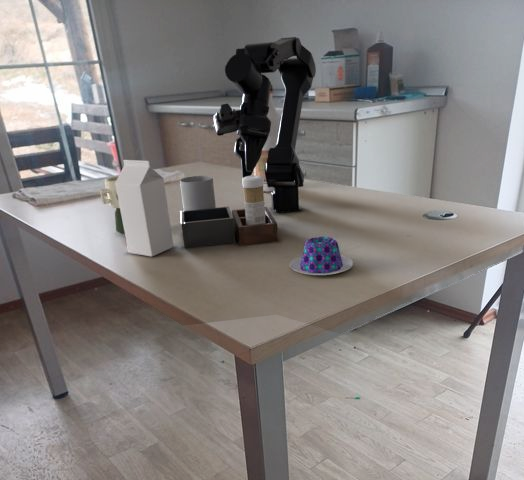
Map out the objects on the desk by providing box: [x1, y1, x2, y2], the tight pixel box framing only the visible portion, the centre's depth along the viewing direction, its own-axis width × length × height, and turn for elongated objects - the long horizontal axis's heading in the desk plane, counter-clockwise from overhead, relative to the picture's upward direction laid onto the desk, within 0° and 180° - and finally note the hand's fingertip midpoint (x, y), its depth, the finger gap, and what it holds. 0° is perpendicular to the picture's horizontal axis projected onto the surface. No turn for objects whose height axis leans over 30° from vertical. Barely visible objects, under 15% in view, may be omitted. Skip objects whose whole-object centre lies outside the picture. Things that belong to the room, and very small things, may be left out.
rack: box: [231, 206, 279, 246], centre depth 121 cm, size 8×16×4 cm, turn 9°
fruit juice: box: [253, 90, 281, 192], centre depth 157 cm, size 9×9×28 cm
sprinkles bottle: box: [241, 175, 265, 225], centre depth 115 cm, size 5×5×14 cm
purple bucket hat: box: [289, 236, 354, 276], centre depth 98 cm, size 12×12×5 cm
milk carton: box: [115, 159, 174, 257], centre depth 110 cm, size 7×7×19 cm
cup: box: [179, 175, 217, 211], centre depth 135 cm, size 8×8×10 cm
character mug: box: [99, 175, 125, 235], centre depth 126 cm, size 11×7×13 cm, turn 130°
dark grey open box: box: [180, 206, 236, 249], centre depth 119 cm, size 11×11×6 cm
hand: (246, 176), depth 114 cm, fingers open, 9 cm apart
